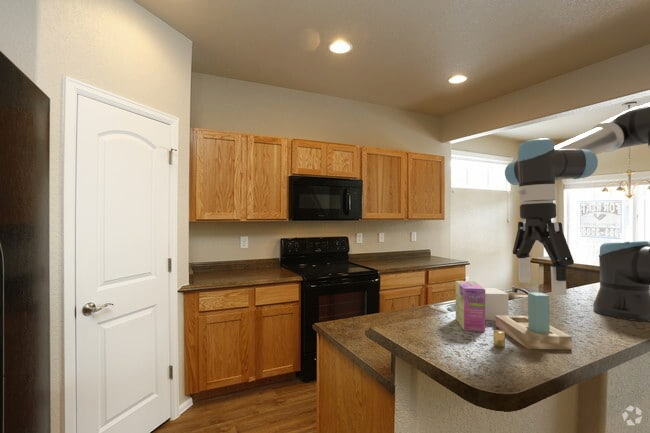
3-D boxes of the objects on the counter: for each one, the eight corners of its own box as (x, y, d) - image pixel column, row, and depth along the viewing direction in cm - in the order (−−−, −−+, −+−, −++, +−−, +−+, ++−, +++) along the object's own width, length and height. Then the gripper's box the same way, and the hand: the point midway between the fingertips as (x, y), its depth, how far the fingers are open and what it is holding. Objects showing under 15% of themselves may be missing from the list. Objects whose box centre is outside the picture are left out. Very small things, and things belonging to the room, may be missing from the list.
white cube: (495, 312, 103) (495, 288, 103) (508, 320, 95) (508, 293, 95) (470, 312, 104) (470, 287, 104) (481, 320, 96) (481, 293, 96)
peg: (541, 340, 80) (541, 292, 80) (549, 345, 77) (549, 295, 77) (528, 339, 80) (527, 292, 80) (536, 344, 77) (535, 295, 77)
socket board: (531, 326, 90) (531, 315, 90) (571, 349, 74) (571, 336, 74) (495, 325, 91) (495, 315, 91) (527, 348, 75) (527, 335, 75)
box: (486, 332, 86) (485, 288, 86) (463, 330, 87) (463, 287, 87) (475, 319, 96) (474, 281, 96) (455, 319, 97) (455, 280, 97)
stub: (502, 344, 77) (501, 330, 77) (507, 348, 75) (506, 333, 75) (491, 344, 77) (491, 330, 77) (496, 348, 75) (496, 333, 75)
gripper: (497, 205, 91) (500, 278, 91) (554, 200, 66) (558, 301, 66) (524, 204, 91) (527, 277, 91) (592, 199, 66) (596, 301, 66)
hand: (540, 288), depth 79 cm, fingers open, 13 cm apart
